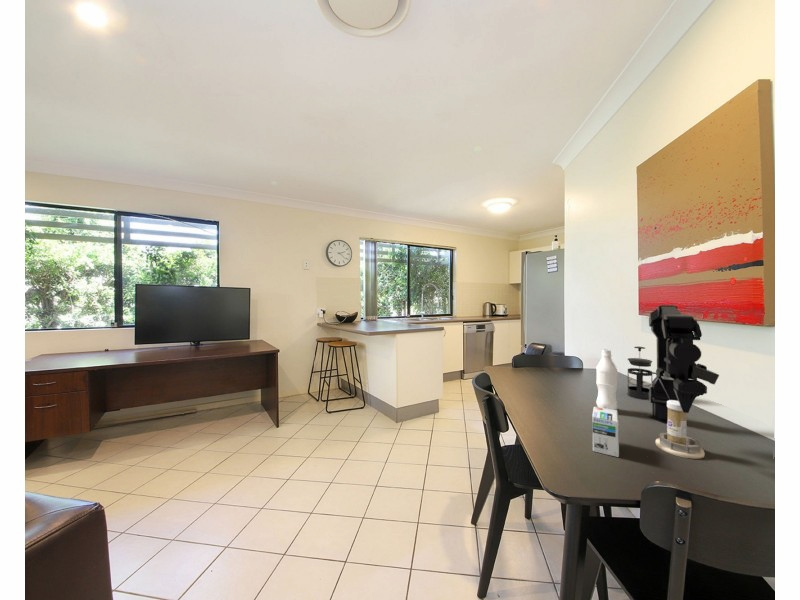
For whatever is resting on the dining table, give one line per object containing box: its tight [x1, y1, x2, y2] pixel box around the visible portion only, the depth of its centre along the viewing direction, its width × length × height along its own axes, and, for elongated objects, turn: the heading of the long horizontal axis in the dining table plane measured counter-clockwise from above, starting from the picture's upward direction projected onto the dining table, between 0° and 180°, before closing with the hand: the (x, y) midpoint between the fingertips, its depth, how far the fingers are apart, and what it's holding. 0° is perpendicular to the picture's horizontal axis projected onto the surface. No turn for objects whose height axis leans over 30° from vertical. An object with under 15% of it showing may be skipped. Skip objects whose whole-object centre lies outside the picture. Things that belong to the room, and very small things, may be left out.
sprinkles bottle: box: [666, 400, 687, 445], centre depth 93 cm, size 5×5×13 cm
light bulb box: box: [591, 406, 620, 458], centre depth 95 cm, size 11×7×11 cm, turn 145°
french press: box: [627, 346, 656, 401], centre depth 139 cm, size 12×9×23 cm
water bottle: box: [595, 348, 619, 411], centre depth 123 cm, size 7×7×25 cm
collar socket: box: [655, 432, 706, 460], centre depth 93 cm, size 11×11×3 cm
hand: (679, 407), depth 92 cm, fingers open, 9 cm apart
